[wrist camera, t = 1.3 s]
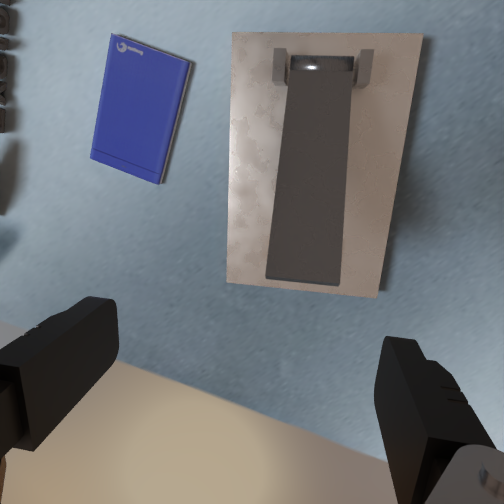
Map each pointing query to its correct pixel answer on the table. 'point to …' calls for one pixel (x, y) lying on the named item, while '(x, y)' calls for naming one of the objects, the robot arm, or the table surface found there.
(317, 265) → the flat pivoting pedal
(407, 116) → the mounting plate
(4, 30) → the extruded letter logo
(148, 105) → the hard drive
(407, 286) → the table surface
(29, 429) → the robot arm
